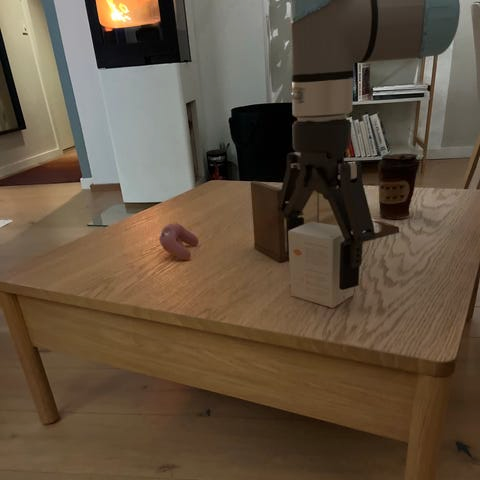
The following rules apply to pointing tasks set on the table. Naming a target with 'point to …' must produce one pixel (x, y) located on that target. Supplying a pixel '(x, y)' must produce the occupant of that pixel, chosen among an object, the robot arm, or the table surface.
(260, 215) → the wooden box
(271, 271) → the table surface
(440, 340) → the table surface
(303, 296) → the small box
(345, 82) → the robot arm
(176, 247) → the pink curved tube
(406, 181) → the coffee cup
